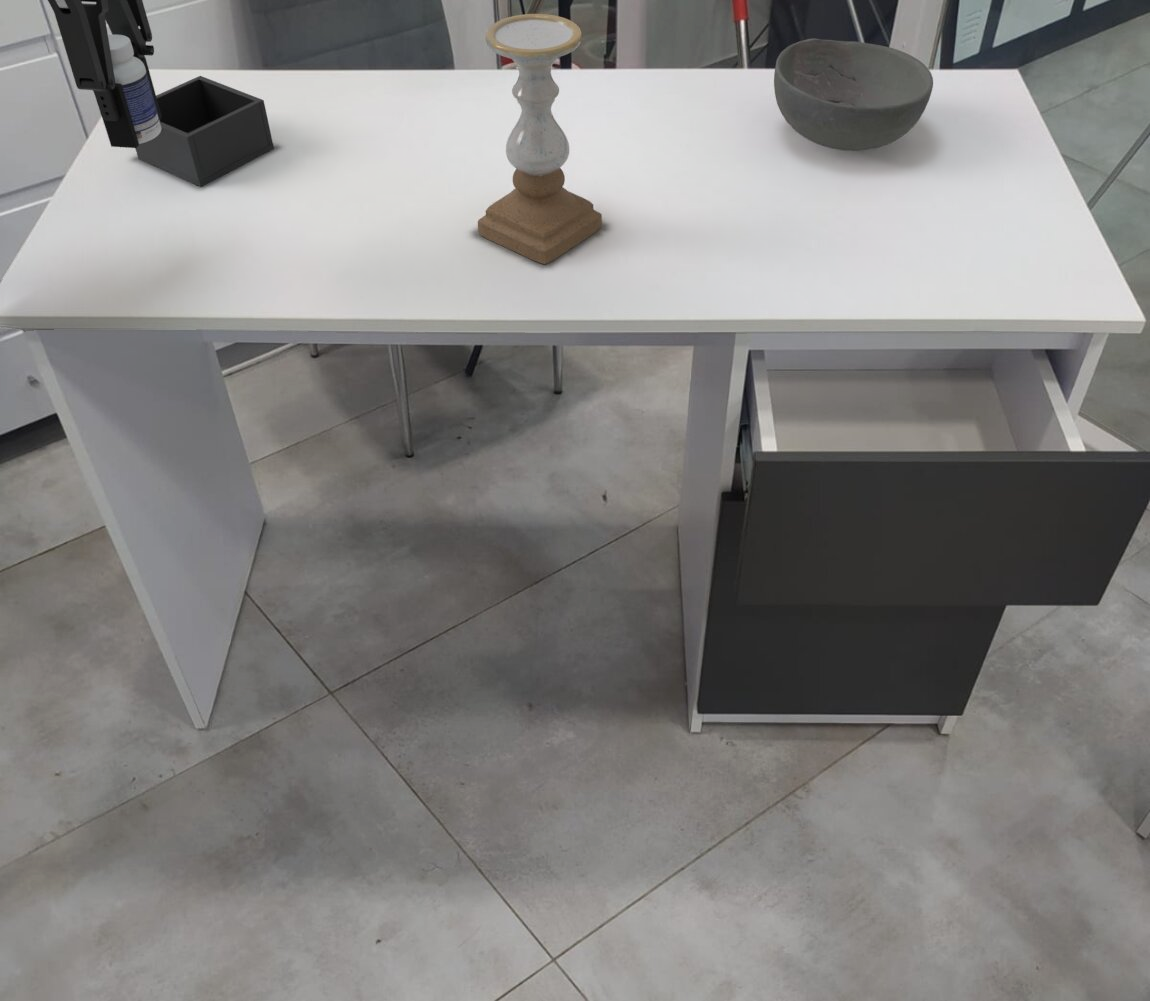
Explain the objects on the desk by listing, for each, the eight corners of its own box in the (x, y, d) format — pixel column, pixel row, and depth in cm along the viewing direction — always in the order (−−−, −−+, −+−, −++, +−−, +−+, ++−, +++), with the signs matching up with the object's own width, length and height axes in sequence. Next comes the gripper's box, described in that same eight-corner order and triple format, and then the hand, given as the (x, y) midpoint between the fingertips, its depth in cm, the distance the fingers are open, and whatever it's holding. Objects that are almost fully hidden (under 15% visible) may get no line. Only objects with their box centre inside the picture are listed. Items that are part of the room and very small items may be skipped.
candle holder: (545, 265, 129) (538, 62, 112) (476, 234, 134) (460, 35, 117) (604, 226, 135) (606, 28, 118) (536, 197, 140) (529, 3, 123)
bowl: (811, 188, 141) (823, 113, 134) (741, 119, 155) (749, 47, 147) (949, 161, 146) (967, 87, 138) (869, 96, 159) (882, 25, 152)
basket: (200, 187, 142) (187, 137, 138) (138, 158, 148) (123, 110, 143) (274, 148, 150) (263, 99, 145) (212, 123, 155) (200, 75, 150)
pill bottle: (172, 126, 119) (148, 35, 112) (143, 149, 115) (116, 56, 108) (128, 119, 120) (102, 28, 113) (98, 141, 116) (69, 49, 109)
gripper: (59, -74, 94) (136, 177, 110) (145, -139, 107) (202, 95, 123) (-25, -78, 95) (64, 172, 111) (71, -141, 108) (138, 91, 124)
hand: (137, 131), depth 117 cm, fingers closed on pill bottle, 5 cm apart
